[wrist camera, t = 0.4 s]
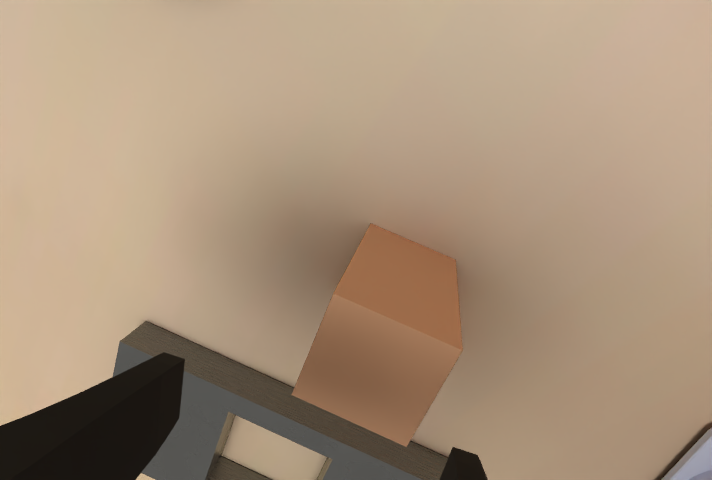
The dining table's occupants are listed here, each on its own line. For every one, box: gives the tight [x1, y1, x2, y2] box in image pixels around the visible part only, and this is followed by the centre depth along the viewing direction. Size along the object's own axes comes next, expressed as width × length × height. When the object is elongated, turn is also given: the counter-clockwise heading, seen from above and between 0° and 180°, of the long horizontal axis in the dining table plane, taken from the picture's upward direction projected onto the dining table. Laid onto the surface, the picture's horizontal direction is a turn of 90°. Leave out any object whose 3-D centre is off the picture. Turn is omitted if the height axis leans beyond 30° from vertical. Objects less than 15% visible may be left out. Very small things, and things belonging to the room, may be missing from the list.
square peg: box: [292, 224, 463, 447], centre depth 16 cm, size 4×4×7 cm
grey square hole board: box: [113, 321, 448, 480], centre depth 23 cm, size 18×8×2 cm, turn 69°
